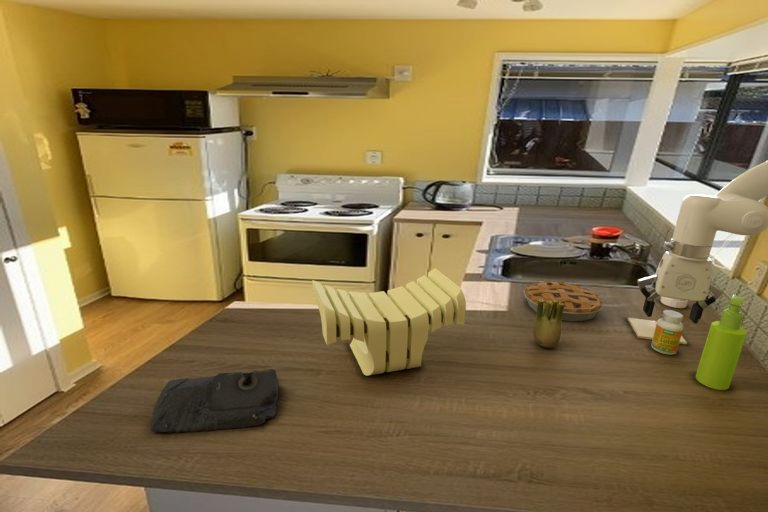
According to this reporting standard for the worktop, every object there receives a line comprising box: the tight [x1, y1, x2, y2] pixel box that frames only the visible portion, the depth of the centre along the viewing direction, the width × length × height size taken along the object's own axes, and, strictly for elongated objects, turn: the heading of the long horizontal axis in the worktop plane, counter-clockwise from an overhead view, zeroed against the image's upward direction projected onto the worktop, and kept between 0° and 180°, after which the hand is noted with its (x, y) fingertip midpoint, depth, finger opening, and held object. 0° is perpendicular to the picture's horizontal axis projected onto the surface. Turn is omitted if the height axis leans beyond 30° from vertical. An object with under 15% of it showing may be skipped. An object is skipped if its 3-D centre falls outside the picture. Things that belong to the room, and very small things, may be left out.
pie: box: [523, 280, 604, 322], centre depth 125 cm, size 22×22×5 cm
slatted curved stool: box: [311, 267, 467, 377], centre depth 94 cm, size 30×16×18 cm, turn 108°
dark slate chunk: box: [149, 368, 279, 434], centre depth 80 cm, size 15×22×5 cm
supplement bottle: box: [650, 309, 684, 356], centre depth 103 cm, size 5×5×10 cm
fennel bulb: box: [533, 300, 565, 349], centre depth 103 cm, size 6×5×12 cm
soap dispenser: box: [695, 294, 748, 391], centre depth 88 cm, size 6×7×20 cm
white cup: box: [660, 296, 689, 309], centre depth 129 cm, size 8×8×10 cm
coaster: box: [627, 317, 688, 345], centre depth 113 cm, size 11×11×1 cm
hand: (669, 317), depth 101 cm, fingers open, 9 cm apart
